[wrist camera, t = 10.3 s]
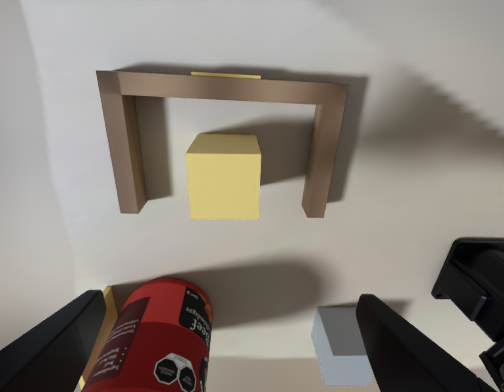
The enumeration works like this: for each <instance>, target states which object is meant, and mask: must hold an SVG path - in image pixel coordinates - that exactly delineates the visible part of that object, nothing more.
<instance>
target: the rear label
mask: <svg viewBox="0 0 504 392" xmlns="http://www.w3.org/2000/svg"><path fill="white" fill-rule="evenodd" d="M103 294H104V299H105V303H106V315H105V318H104V320H103V323H102V326H101V329H100V331H99V334H98V337H97V339H96V342H95V345H94V348H93V350H92V353H91V356H90V358H89V361H88V363H87V365H86V367H85V370H84V372H83V374H82V376H81V378H80V380H79V384H80V387H81V390H82V388H83V386H84V384H85V382H86V380H87V378H88V376H89V374H90V372H91V370H92V368H93V366H94V364H95V362H96V360H97V358H98V356H99V354H100V352H101V350H102V348H103V346H104V344H105V342H106V340H107V338H108V336H109V334H110V332H111V330H112V328H113V326H114V324H115V322H116V320H117V318H118V316H117V311H116V307H115V302H114V298H113V293H112V288H111V287H106V288H105V290H104V291H103Z"/></svg>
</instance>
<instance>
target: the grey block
mask: <svg viewBox="0 0 504 392" xmlns="http://www.w3.org/2000/svg"><path fill="white" fill-rule="evenodd" d="M356 308H357V307H317V310H316V315H315V319H314V324H313V329H312V334H311V336H312V340H313V344H314V347H315V351H316V355H317V358H318V362H319V365H320V369H321V373H322V376H323V380H324V384H325V386H350V385H351V386H353V385H370V383H371V380H372V378H373V375H374V373H373V371H372V368H371V366H370V363H369V360H368V357H367V354H366V350H365V347H364V343H363V340H362V336H361V333H360V329H359V326H358V322H357V319H356Z"/></svg>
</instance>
